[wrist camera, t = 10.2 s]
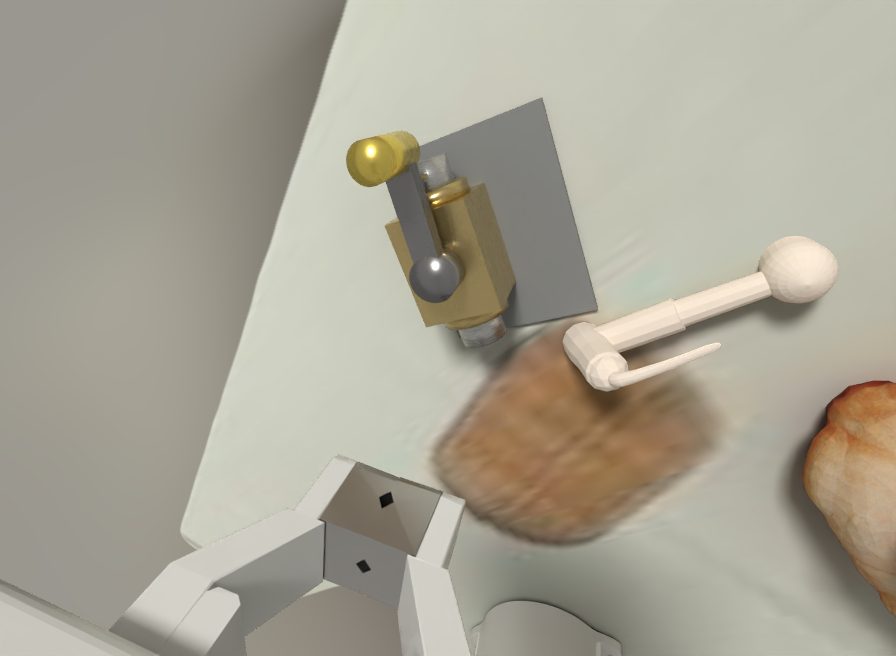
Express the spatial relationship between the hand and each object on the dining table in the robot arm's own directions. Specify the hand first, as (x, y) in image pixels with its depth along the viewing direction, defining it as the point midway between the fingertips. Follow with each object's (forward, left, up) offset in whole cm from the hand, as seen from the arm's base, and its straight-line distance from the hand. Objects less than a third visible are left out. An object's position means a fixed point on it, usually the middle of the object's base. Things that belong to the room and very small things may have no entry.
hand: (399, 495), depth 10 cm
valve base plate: (-1, +5, -29) cm, 29 cm away
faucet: (-10, -7, -30) cm, 32 cm away
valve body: (-1, +7, -29) cm, 30 cm away
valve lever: (+3, +7, -23) cm, 24 cm away
